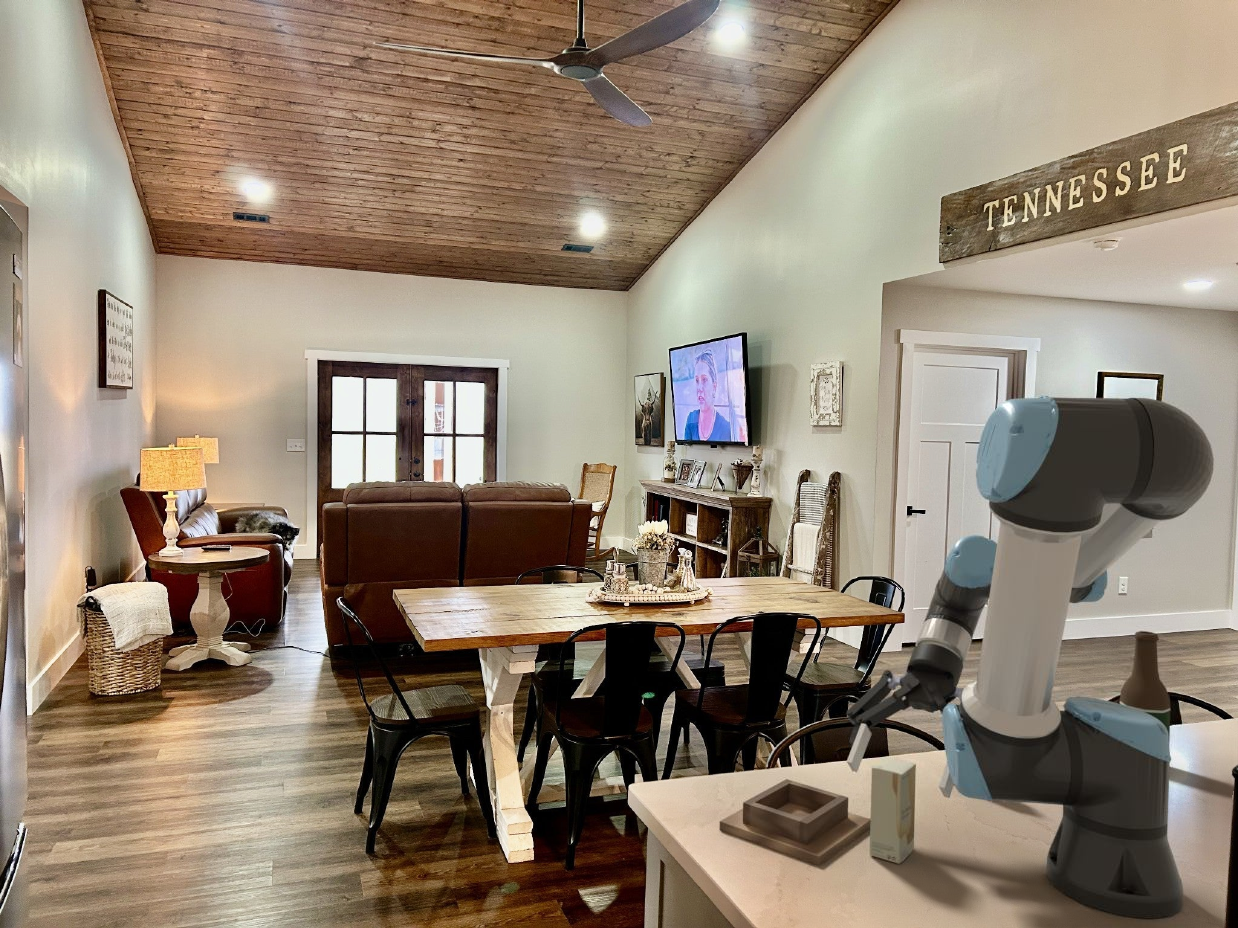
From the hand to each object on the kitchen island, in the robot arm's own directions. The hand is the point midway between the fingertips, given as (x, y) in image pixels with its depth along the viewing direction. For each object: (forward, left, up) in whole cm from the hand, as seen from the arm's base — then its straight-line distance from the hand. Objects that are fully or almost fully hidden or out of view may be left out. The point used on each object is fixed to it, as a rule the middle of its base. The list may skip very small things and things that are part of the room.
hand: (896, 779), depth 121 cm
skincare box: (-2, +3, -9) cm, 10 cm away
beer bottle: (+2, -64, -9) cm, 65 cm away
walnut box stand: (+10, +10, -9) cm, 17 cm away
